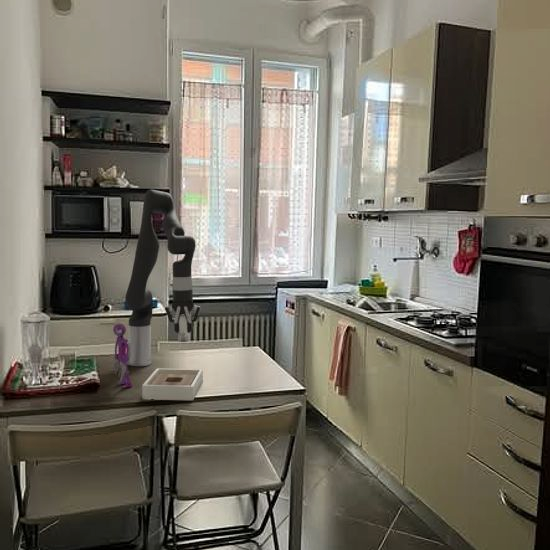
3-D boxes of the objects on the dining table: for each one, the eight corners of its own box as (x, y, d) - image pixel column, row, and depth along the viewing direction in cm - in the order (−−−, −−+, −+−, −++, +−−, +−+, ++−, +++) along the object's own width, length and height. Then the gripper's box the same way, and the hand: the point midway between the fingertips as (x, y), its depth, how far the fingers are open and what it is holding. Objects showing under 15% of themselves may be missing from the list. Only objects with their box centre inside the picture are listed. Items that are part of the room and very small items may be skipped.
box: (142, 399, 200) (142, 385, 200) (156, 380, 222) (156, 368, 222) (193, 400, 200) (193, 386, 199) (202, 381, 222) (202, 369, 221)
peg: (177, 341, 216) (177, 316, 215) (179, 339, 220) (178, 314, 219) (188, 341, 216) (187, 315, 215) (189, 339, 220) (189, 314, 219)
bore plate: (150, 393, 204) (150, 384, 204) (159, 381, 218) (159, 373, 218) (189, 393, 204) (189, 385, 203) (195, 382, 218) (195, 374, 217)
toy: (103, 382, 219) (102, 321, 216) (121, 379, 223) (120, 319, 220) (119, 393, 206) (118, 328, 204) (137, 390, 210) (136, 326, 208)
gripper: (161, 289, 212) (163, 334, 214) (200, 289, 212) (200, 334, 214) (165, 287, 220) (166, 330, 222) (202, 286, 220) (203, 330, 222)
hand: (183, 332), depth 218 cm, fingers closed on peg, 4 cm apart
